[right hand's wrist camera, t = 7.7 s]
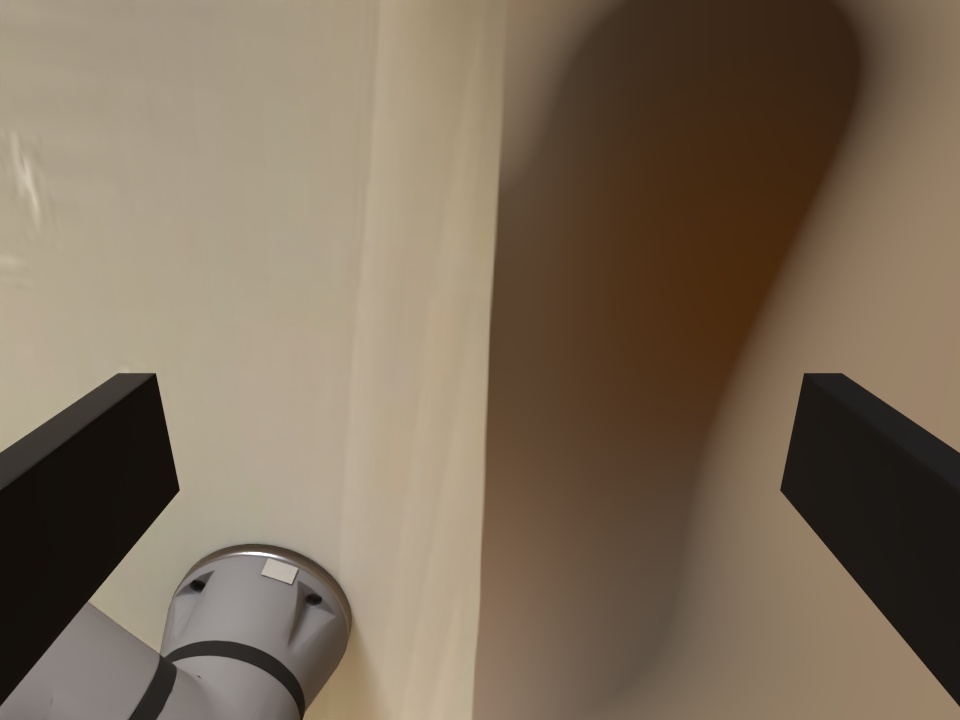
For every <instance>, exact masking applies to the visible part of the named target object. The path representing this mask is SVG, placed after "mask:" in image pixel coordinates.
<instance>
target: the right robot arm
mask: <svg viewBox="0 0 960 720" xmlns="http://www.w3.org/2000/svg"><path fill="white" fill-rule="evenodd" d="M780 490H781V492H782V493H783V494H784V495H785V497H786V498H787V499H788V500H789V501H790V503H791V504H792V505H793V506H794V507H795V509H796V510H797V511H798V512H799V513H800V515H801V516H802V517H803V518H804V519H805V521H806V522H807V523H808V524H809V526H810V527H811V528H812V529H813V530H814V532H815V533H816V534H817V535H818V536H819V538H820V539H821V540H822V541H823V542H824V544H825V545H826V546H827V547H828V548H829V550H830V551H831V552H832V553H833V554H834V556H835V557H836V558H837V559H838V560H839V562H840V563H841V564H842V565H843V567H844V568H845V569H846V570H847V571H848V573H849V574H850V575H851V576H852V577H853V579H854V580H855V581H856V582H857V583H858V585H859V586H860V587H861V588H862V589H863V591H864V592H865V593H866V594H867V595H868V597H869V598H870V599H871V600H872V601H873V603H874V604H875V605H876V606H877V607H878V609H879V610H880V611H881V612H882V613H883V615H884V616H885V617H886V618H887V620H888V621H889V622H890V623H891V624H892V626H893V627H894V628H895V629H896V630H897V632H898V633H899V634H900V635H901V636H902V638H903V639H904V640H905V641H906V642H907V644H908V645H909V646H910V647H911V648H912V650H913V651H914V652H915V653H916V654H917V656H918V657H919V658H920V659H921V661H922V662H923V663H924V664H925V665H926V667H927V668H928V669H929V670H930V671H931V672H932V674H933V675H934V676H935V677H936V679H937V680H938V681H939V682H940V683H941V685H942V686H943V687H944V688H945V689H946V691H947V692H948V693H949V694H950V695H951V697H952V698H953V699H954V700H955V701H956V703H957V704H958V705H959V706H960V453H959V452H957V451H956V450H955V449H953V448H952V447H950V446H949V445H947V444H946V443H944V442H943V441H941V440H940V439H938V438H937V437H935V436H934V435H932V434H931V433H929V432H928V431H926V430H925V429H923V428H922V427H921V426H919V425H917V424H916V423H915V422H913V421H912V420H910V419H909V418H907V417H906V416H904V415H903V414H901V413H900V412H898V411H897V410H895V409H894V408H892V407H891V406H890V405H888V404H886V403H885V402H884V401H882V400H881V399H879V398H878V397H876V396H875V395H873V394H872V393H870V392H869V391H867V390H866V389H864V388H863V387H861V386H860V385H858V384H857V383H856V382H854V381H853V380H851V379H850V378H848V377H847V376H845V375H844V374H842V373H804V377H803V382H802V387H801V391H800V396H799V401H798V406H797V411H796V416H795V421H794V425H793V430H792V435H791V440H790V445H789V450H788V455H787V460H786V464H785V469H784V474H783V479H782V484H781V489H780ZM179 491H180V489H179V484H178V479H177V474H176V469H175V464H174V460H173V455H172V450H171V445H170V440H169V435H168V430H167V425H166V421H165V416H164V411H163V406H162V401H161V396H160V391H159V386H158V382H157V377H156V373H118V374H116V375H115V376H113V377H112V378H110V379H109V380H107V381H106V382H104V383H103V384H102V385H100V386H99V387H97V388H96V389H94V390H93V391H91V392H90V393H88V394H87V395H85V396H84V397H82V398H81V399H79V400H78V401H76V402H75V403H73V404H72V405H70V406H69V407H68V408H66V409H65V410H63V411H62V412H60V413H59V414H57V415H56V416H54V417H53V418H51V419H50V420H48V421H47V422H45V423H44V424H42V425H41V426H39V427H38V428H37V429H35V430H34V431H32V432H31V433H29V434H28V435H26V436H25V437H23V438H22V439H20V440H19V441H17V442H16V443H14V444H13V445H11V446H10V447H8V448H7V449H5V450H4V451H3V452H1V453H0V720H303V717H304V714H305V711H306V710H307V708H308V707H309V706H310V704H311V703H312V701H313V700H314V699H315V697H316V696H317V694H318V693H319V692H320V690H321V689H322V687H323V686H324V685H325V683H326V682H327V680H328V679H329V678H330V676H331V675H332V673H333V672H334V671H335V669H336V668H337V666H338V664H339V663H340V660H341V659H342V657H343V655H344V652H345V650H346V646H347V643H348V639H349V635H350V631H351V611H350V606H349V603H348V600H347V598H346V596H345V594H344V592H343V590H342V588H341V587H340V585H339V584H338V583H337V581H336V580H335V579H334V578H333V577H332V576H331V575H330V574H329V573H328V572H327V571H326V570H325V569H324V568H322V567H321V566H320V565H318V564H317V563H315V562H314V561H312V560H311V559H309V558H307V557H305V556H303V555H301V554H298V553H296V552H294V551H291V550H288V549H284V548H280V547H276V546H270V545H261V544H246V545H237V546H231V547H228V548H224V549H221V550H218V551H216V552H213V553H211V554H209V555H208V556H206V557H204V558H203V559H201V560H200V561H199V562H197V563H196V564H195V565H194V566H193V567H192V568H191V569H190V570H189V572H188V573H187V574H186V576H185V577H184V579H183V580H182V582H181V583H180V585H179V586H178V588H177V590H176V591H175V593H174V595H173V598H172V601H171V603H170V606H169V610H168V614H167V619H166V625H165V630H164V635H163V640H162V645H161V650H160V654H159V653H158V652H156V651H155V650H154V649H152V648H151V647H149V646H148V645H147V644H145V643H144V642H142V641H141V640H140V639H138V638H137V637H135V636H134V635H133V634H131V633H130V632H128V631H127V630H126V629H124V628H123V627H122V626H120V625H119V624H118V623H116V622H115V621H114V620H112V619H111V618H109V617H108V616H107V615H105V614H104V613H103V612H101V611H100V610H99V609H97V608H96V607H95V606H93V605H92V604H91V603H89V602H88V600H89V599H90V598H91V597H92V595H93V594H94V593H95V592H96V591H97V589H98V588H99V587H100V586H101V585H102V583H103V582H104V581H105V580H106V579H107V577H108V576H109V575H110V574H111V573H112V571H113V570H114V569H115V568H116V567H117V565H118V564H119V563H120V562H121V560H122V559H123V558H124V557H125V556H126V554H127V553H128V552H129V551H130V550H131V548H132V547H133V546H134V545H135V544H136V542H137V541H138V540H139V539H140V538H141V536H142V535H143V534H144V533H145V532H146V530H147V529H148V528H149V527H150V526H151V524H152V523H153V522H154V521H155V519H156V518H157V517H158V516H159V515H160V513H161V512H162V511H163V510H164V509H165V507H166V506H167V505H168V504H169V503H170V501H171V500H172V499H173V498H174V497H175V495H176V494H177V493H178V492H179Z"/></svg>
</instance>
